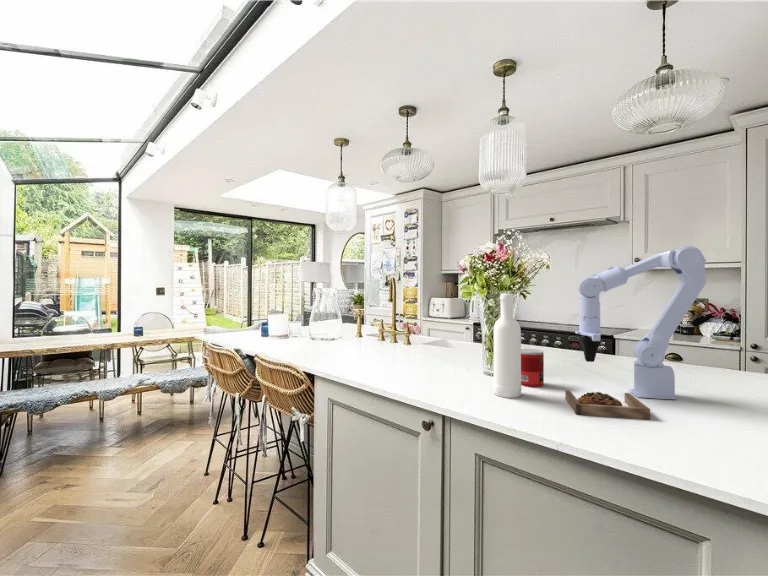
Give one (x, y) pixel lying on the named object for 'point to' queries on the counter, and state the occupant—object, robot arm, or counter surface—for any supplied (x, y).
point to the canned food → (532, 367)
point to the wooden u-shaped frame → (610, 408)
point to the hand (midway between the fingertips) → (589, 361)
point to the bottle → (507, 352)
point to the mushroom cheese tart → (599, 399)
